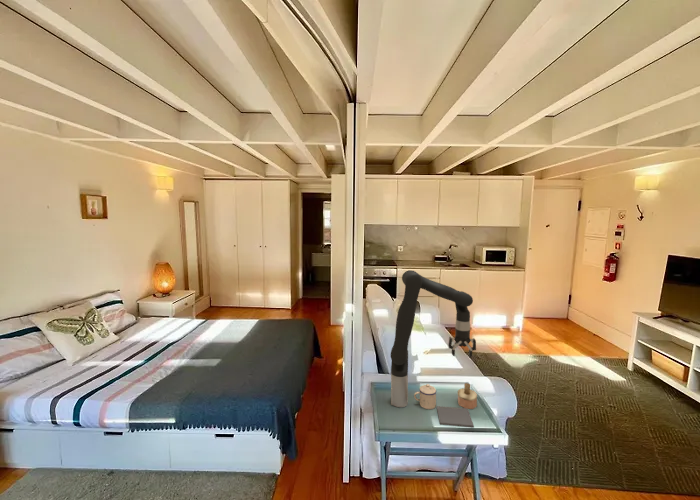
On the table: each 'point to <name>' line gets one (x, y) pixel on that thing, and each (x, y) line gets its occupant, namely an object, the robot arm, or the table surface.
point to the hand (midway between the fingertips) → (461, 356)
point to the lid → (467, 393)
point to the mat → (454, 416)
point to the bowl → (467, 403)
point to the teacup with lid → (427, 396)
